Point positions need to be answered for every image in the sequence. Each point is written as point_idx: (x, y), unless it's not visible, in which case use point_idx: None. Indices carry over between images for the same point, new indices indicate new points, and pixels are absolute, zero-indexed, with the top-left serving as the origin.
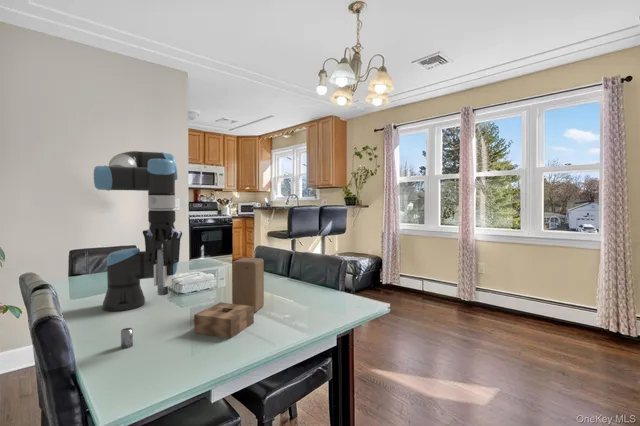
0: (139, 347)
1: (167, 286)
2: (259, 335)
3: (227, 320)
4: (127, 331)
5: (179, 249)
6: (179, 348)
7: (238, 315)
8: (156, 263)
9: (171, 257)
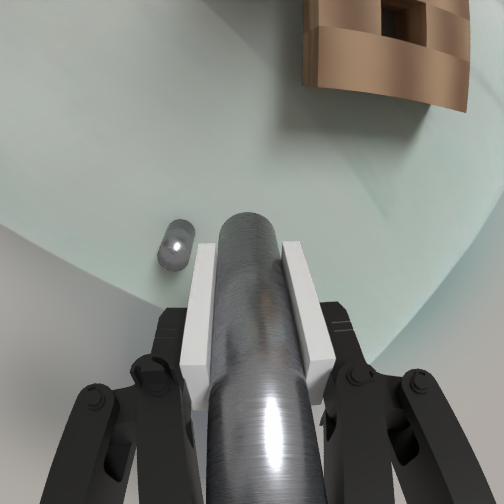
0: (219, 225)
1: (280, 257)
2: (482, 76)
3: (453, 109)
4: (187, 264)
5: (482, 475)
6: (333, 195)
7: (468, 67)
8: (189, 400)
9: (403, 455)
